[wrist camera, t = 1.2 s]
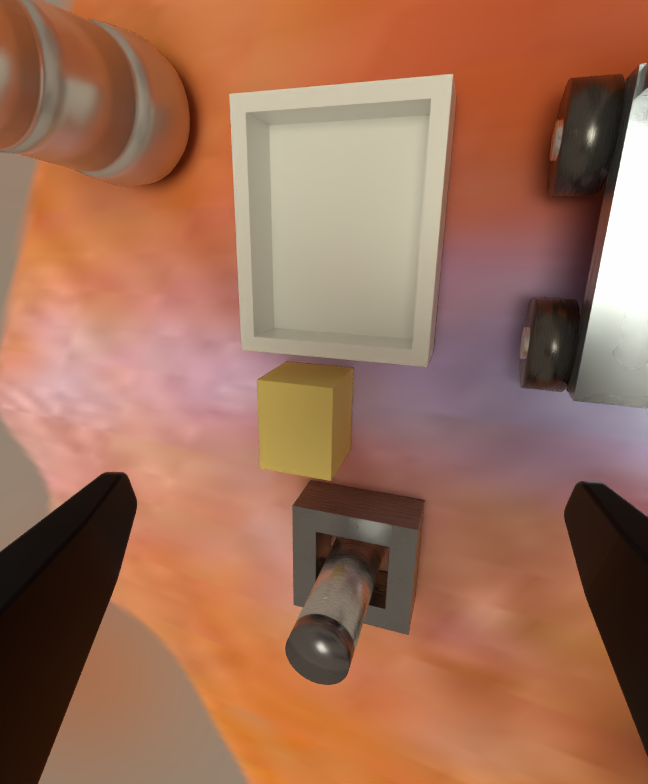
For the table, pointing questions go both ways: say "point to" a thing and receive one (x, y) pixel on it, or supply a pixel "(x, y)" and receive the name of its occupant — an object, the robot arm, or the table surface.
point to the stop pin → (335, 612)
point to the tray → (342, 217)
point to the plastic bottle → (88, 96)
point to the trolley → (599, 249)
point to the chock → (305, 419)
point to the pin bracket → (367, 524)
